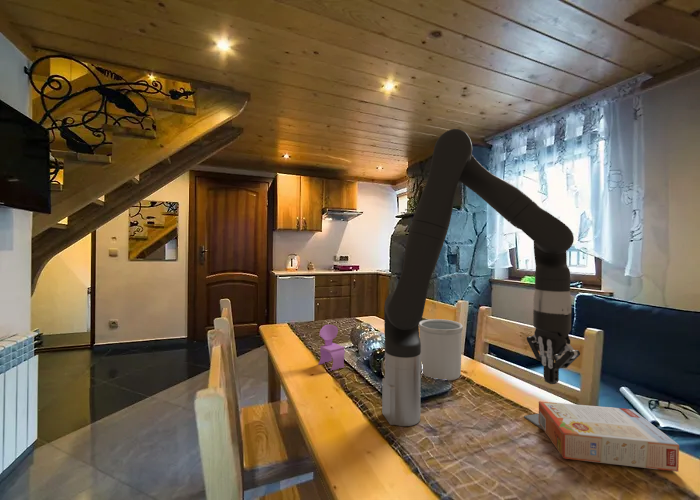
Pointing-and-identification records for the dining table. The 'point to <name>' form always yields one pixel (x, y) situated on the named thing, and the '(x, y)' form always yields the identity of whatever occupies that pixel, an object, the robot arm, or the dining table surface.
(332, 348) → the toy chair
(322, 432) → the dining table surface
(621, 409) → the cracker box
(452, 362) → the utensil holder
